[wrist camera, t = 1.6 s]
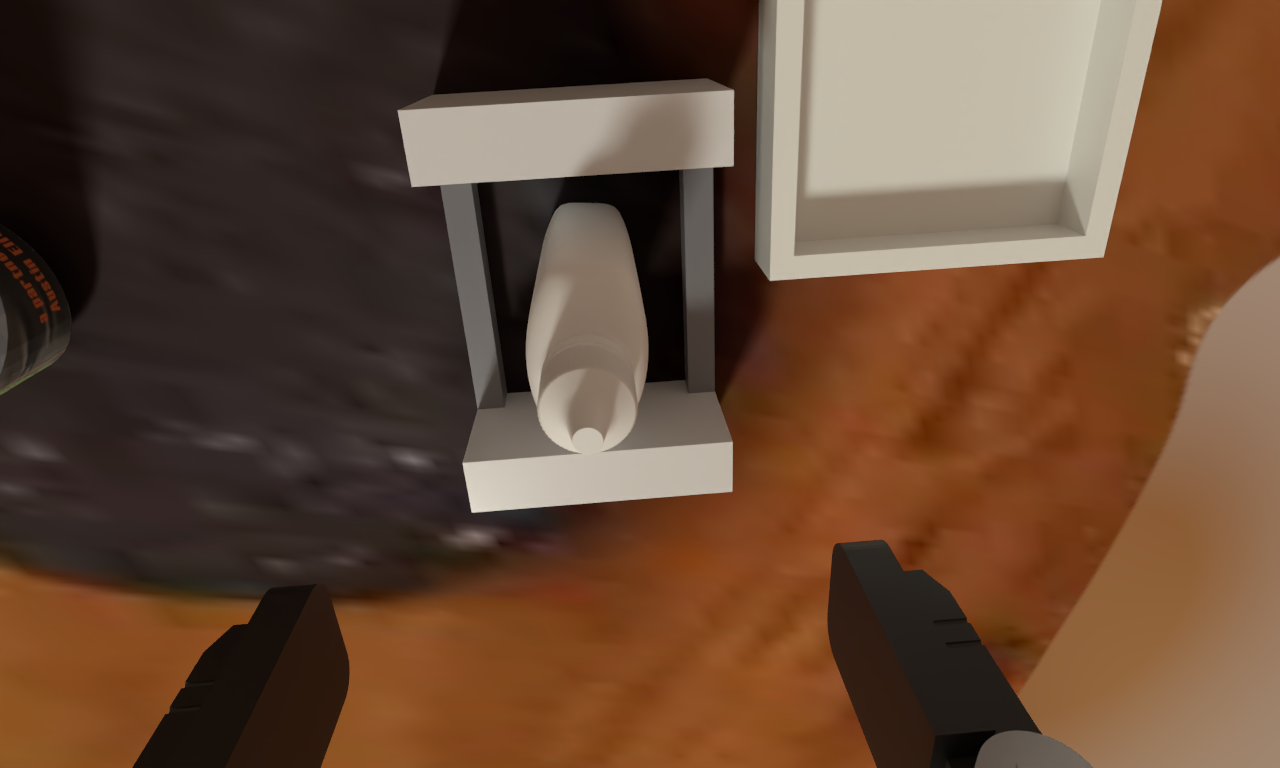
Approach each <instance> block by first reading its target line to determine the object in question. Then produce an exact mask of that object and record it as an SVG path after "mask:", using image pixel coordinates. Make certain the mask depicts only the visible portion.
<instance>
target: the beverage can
mask: <svg viewBox="0 0 1280 768" xmlns="http://www.w3.org/2000/svg"><path fill="white" fill-rule="evenodd" d="M71 331H72V323H71V313H70V308H69V304H68V301H67V298H66V296H65V293H64V291H63V288H62V287H61V285H60V283H59V281H58V280H57V278H56V276H55V274H54V273H53V272H52V270H51V269H50V268H49V266H48V265H47V264H46V262H45V261H44V260H43V259H42V258H41V257H40V255H39V254H38V253H37V252H36V251H35V250H34V249H33V248H32V247H31V246H30V245H29V244H27V243H26V242H25V241H24V240H23V239H21V238H20V237H19V236H18V235H17V234H15V233H14V232H12V231H11V230H9V229H8V228H6V227H5V226H3V225H2V224H0V395H1V394H3V393H4V392H6V391H8V390H9V389H11V388H13V387H14V386H16V385H18V384H19V383H21V382H23V381H24V380H26V379H27V378H29V377H31V376H32V375H34V374H36V373H37V372H39V371H41V370H42V369H44V368H46V367H47V366H49V365H50V364H52V363H53V362H55V361H56V360H57V359H58V358H59V357H60V356H61V355H62V354H63V353H64V351H65V349H66V347H67V345H68V343H69V341H70V336H71Z"/></svg>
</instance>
